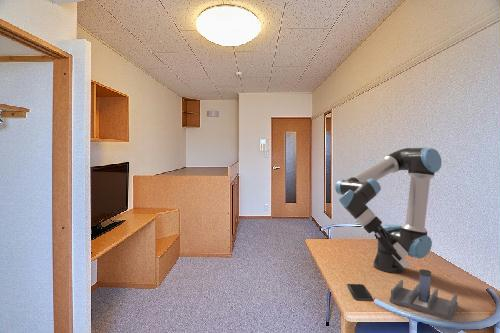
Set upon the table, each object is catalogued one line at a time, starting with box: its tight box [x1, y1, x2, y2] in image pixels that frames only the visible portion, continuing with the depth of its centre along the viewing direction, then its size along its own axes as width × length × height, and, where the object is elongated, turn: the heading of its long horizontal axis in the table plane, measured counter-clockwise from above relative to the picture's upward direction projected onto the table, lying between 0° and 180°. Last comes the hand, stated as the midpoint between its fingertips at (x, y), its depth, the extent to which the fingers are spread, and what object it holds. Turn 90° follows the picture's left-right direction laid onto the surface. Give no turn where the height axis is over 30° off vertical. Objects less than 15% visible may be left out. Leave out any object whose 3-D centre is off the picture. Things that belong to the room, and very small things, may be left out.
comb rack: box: [389, 279, 459, 321], centre depth 131 cm, size 15×22×5 cm
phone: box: [346, 283, 374, 302], centre depth 141 cm, size 8×1×15 cm
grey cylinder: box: [418, 269, 432, 302], centre depth 131 cm, size 4×4×12 cm
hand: (406, 260), depth 133 cm, fingers open, 13 cm apart
